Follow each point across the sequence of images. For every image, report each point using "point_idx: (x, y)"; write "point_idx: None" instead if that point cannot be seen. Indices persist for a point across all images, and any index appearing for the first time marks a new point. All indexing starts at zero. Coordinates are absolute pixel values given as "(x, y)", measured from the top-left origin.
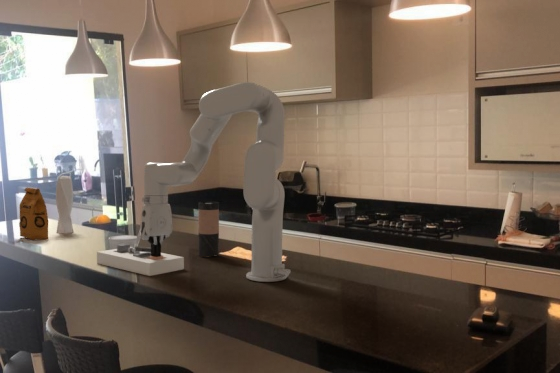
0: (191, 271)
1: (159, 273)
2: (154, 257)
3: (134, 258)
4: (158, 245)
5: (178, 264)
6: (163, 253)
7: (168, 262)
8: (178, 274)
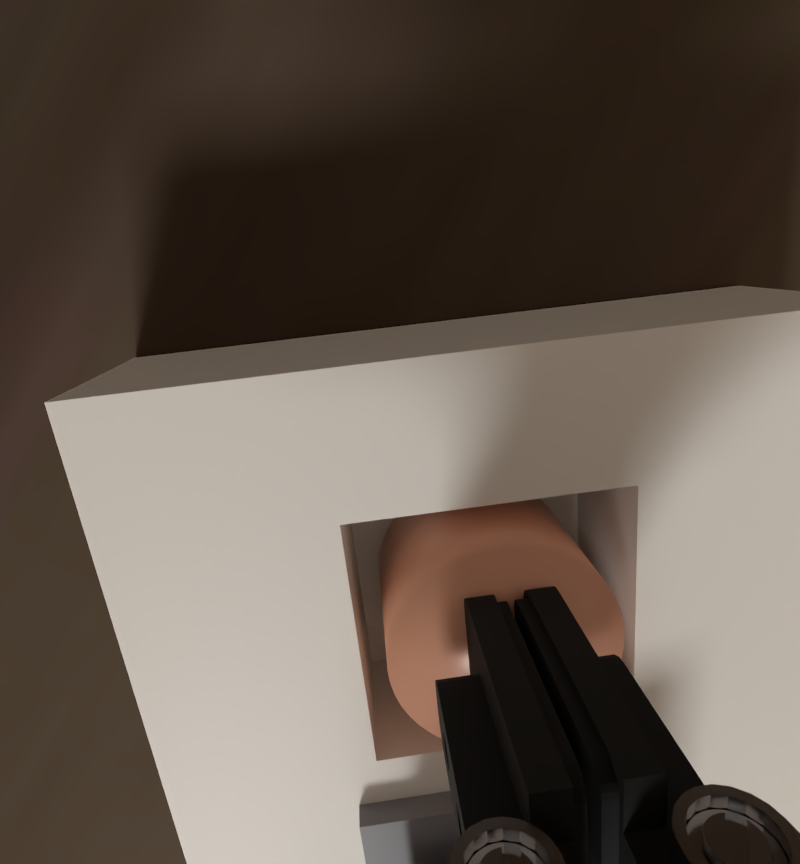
0: (110, 137)
1: (578, 306)
2: (601, 577)
3: (753, 763)
4: (596, 772)
5: (219, 361)
6: (201, 858)
7: (441, 346)
8: (392, 89)
